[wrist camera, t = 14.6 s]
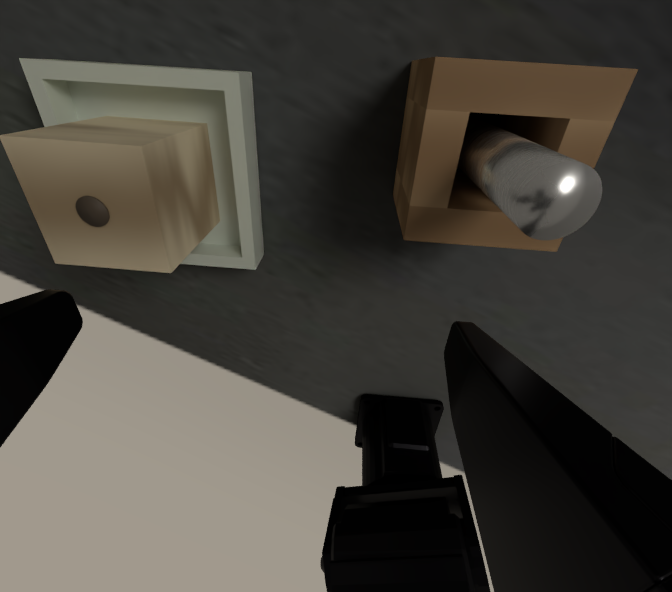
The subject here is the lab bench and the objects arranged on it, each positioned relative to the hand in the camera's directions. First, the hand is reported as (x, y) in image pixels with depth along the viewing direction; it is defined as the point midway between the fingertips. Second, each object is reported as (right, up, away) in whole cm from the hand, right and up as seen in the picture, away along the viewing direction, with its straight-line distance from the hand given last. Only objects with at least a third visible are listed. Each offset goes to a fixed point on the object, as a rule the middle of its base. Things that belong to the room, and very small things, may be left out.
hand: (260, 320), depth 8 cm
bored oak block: (+8, +8, +9) cm, 15 cm away
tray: (-7, +8, +11) cm, 15 cm away
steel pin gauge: (+8, +8, +9) cm, 15 cm away
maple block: (-7, +7, +10) cm, 14 cm away
